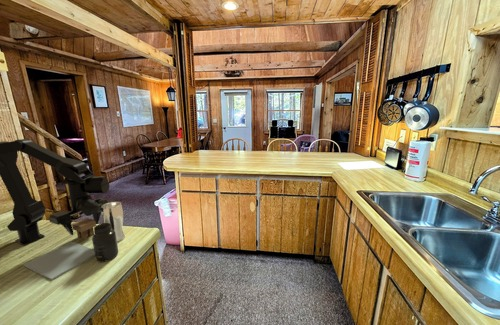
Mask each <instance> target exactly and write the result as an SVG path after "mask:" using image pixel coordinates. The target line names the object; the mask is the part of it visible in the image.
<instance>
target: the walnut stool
mask: <svg viewBox="0 0 500 325" xmlns="http://www.w3.org/2000/svg"><path fill="white" fill-rule="evenodd" d="M71 225H72V229H73V231H76V233H77V234H76V235H77V238H78V239H82V240H83V241H85V240H87V239H88V237H91V238H92V237H93V235H94V234H95V233H94V227H95V226H97V224H96V222H95V220H94V219H92V218H89V217H86V218H83V219H81V220H78V221H75V222H72V223H71Z"/></svg>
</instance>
